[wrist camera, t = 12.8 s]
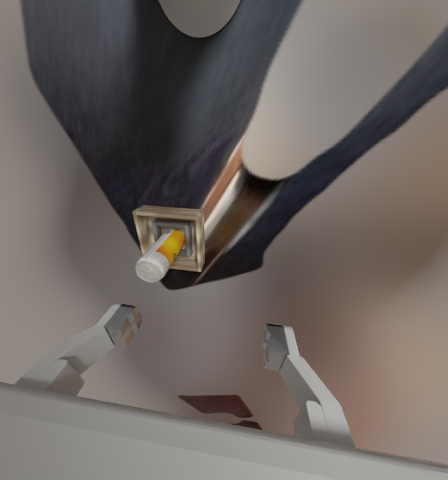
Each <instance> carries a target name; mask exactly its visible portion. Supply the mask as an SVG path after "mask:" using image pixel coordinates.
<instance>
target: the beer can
mask: <svg viewBox="0 0 448 480" xmlns="http://www.w3.org/2000/svg"><path fill="white" fill-rule="evenodd" d="M184 244H185V237H184V235H183V234H182V233H181V232H180V231H178V230H176V229H169V230H167V231H166V232H165V233H164V234H163V235H162V236H161V237H160V238H159V239H158V240H157V241H156V242H155V243H154V244H153V245H152V246H151V247H150V248H149V249H148V251H147V252H146V253H145V254H144V255H143V256H142V257H141V258H140V259H139V260H138V261H137V265H136V268H135V270H136V273H137V275H138V276H139V277H140V278H141V279H142V280H144V281H146V282H150V283H153V282H157V281H159V280H160V279H162V278H163V277H164V276H165V274H166V273H167V271H168V269H169V268H170V266H171V265H172V263H173V262H174V260H175V258H176V257H177V255H178V254H179V252H180V251H181V249H182V247H183V246H184Z"/></svg>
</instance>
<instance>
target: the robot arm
mask: <svg viewBox="0 0 448 480" xmlns="http://www.w3.org/2000/svg"><path fill="white" fill-rule="evenodd" d="M158 1H159V3H160V5H161V7H162V9H163V11H164V13H165V14H166V16H167V17H168V19H169V20H170V21H171V23H172V24H173V25H174V26H175V27H176V28H177V29H179V30H180V31H181V32H183V33H184V34H187V35H189V36H192V37H207V36H210V35H213V34H214V33H216V32H218V31H219V30H220V29H222V28H223V27H224V26H225V25H226V24H227V23H228V21H229V20H230V19H231V17H232V16H233V14H234V13H235V11H236V9H237V7H238V5H239V3H240V1H241V0H158ZM139 311H140V309H139V307H138V306H132V305H125V304H118V303H115V304H113V305H112V306H111V307H110V308H109V310H108V311H107V312H106V313H105V314H104V316H103V317H102V318H101V319H100V321H99V322H98V323H97V324H96V325H95V326H92V327H90V328H89V329H87V330H85V331H83V332H81V333H80V334H78V335H76V336H75V337H73V338H71V339H69V340H68V341H66V342H64V343H63V344H61V345H59V346H58V347H56V348H54V349H52V350H51V351H49V352H47V353H46V354H44V355H43V356H42V357H41V358H40V359H39V360H38V361H37V362H36V363H35V364H34V365H33V366H32V367H31V368H30V369H29V370H28V371H27V372H26V373H25V374H24V375H23V376H22V377H21V378H20V379H19V380H18V381H17V382H16V383H15V384H14V385H12V384H7V383H2V382H0V480H448V465H446V464H442V463H437V462H432V461H426V460H421V459H415V458H410V457H404V456H399V455H394V454H388V453H383V452H377V451H372V450H366V449H361V448H356V447H355V444H354V442H353V439H352V436H351V433H350V431H349V428H348V425H347V422H346V419H345V416H344V414H343V411H342V408H341V405H340V404H339V403H338V401H337V400H336V399H335V398H334V397H333V395H332V394H331V393H330V391H329V390H328V389H327V388H326V386H325V385H324V384H323V382H322V381H321V380H320V379H319V377H318V376H317V375H316V374H315V372H314V371H313V370H312V369H311V367H310V366H309V365H308V364H307V362H306V361H305V360H304V358H303V357H300V356H299V352H298V348H297V344H296V340H295V336H294V332H293V329H292V327H290V326H282V325H274V324H266V325H265V331H263V337H262V345H263V349H264V350H265V352H264V355H263V358H264V368H265V369H270V370H275V371H279V373H280V374H281V376H282V378H283V380H284V381H285V383H286V385H287V387H288V388H289V390H290V392H291V394H292V396H293V398H294V399H295V401H296V403H297V405H298V406H299V408H300V412H299V413H298V414H297V416H296V417H295V418H294V420H293V424H294V430H295V436H290V435H285V434H279V433H273V432H268V431H263V430H257V429H252V428H247V427H241V426H236V425H230V424H225V423H219V422H213V421H208V420H203V419H197V418H192V417H187V416H181V415H175V414H170V413H165V412H159V411H154V410H149V409H143V408H138V407H132V406H126V405H121V404H116V403H110V402H104V401H100V400H94V399H89V398H83V397H78V396H77V394H78V393H79V391H80V390H81V388H82V387H83V385H84V380H83V379H82V377H81V376H80V374H82V373H83V372H84V371H85V370H86V369H88V368H89V367H90V366H91V365H92V364H94V363H95V362H96V361H97V360H99V359H100V358H101V357H102V356H103V355H105V354H106V353H107V352H108V351H109V350H111V349H112V348H113V347H114V346H122V347H128V346H129V344H130V342H131V341H132V339H133V337H134V332H135V331H137V330H138V329H139V327H140V325H141V322H142V315H141V314H140V313H139Z"/></svg>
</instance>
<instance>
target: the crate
mask: <svg viewBox="0 0 448 480" xmlns="http://www.w3.org/2000/svg"><path fill="white" fill-rule="evenodd" d="M133 216H134V220H135V225H136V229H137V233H138V237H139V241H140V246H141V250H142V254H143V255H144V254H145V253H146V252H147V251H148V249H149V248H150V247H151V246H152V245H153V244H154V243H155V242H156V241H157V240H158V239H159V238H160V237H161V236H162V235H163V234H164V233H165V232H166V231H167V230H169V229H176V230H178V231H180V232H181V233H182V234H183V235H184V237H185V244H184V246H183V247H182V249H181V251H180V252H179V254H178V255H177V257H176V258H175V260H174V262H173V263H172V265H171V266H170V268H171V269H180V270H189V271H199V272H201V270H202V267H203V265H204V262H205V245H204V210H199V209H186V208H173V207H160V206H147V205H143V206H141V207H140V208H138V209H136V210H134V211H133Z"/></svg>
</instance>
